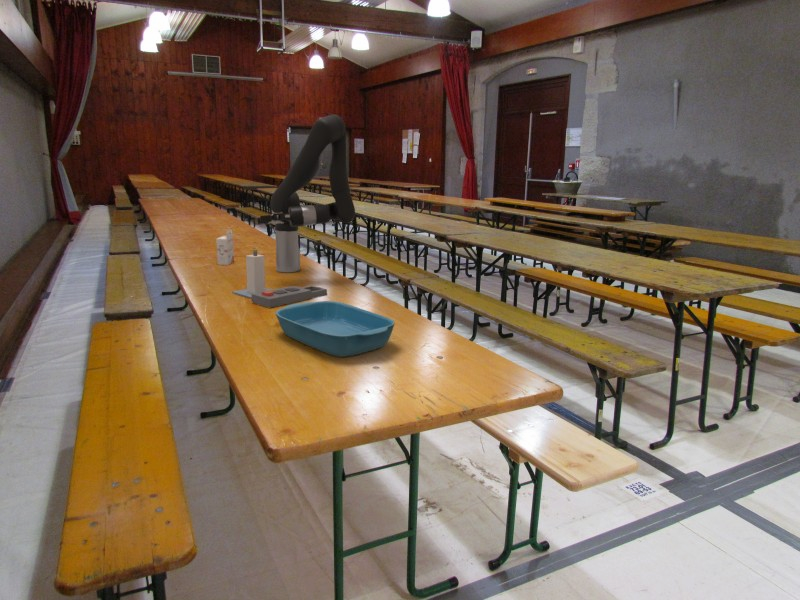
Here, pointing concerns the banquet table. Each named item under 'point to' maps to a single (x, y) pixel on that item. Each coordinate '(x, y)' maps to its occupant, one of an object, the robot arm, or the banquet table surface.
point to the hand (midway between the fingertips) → (258, 220)
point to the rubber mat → (245, 293)
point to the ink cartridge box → (225, 249)
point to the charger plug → (255, 273)
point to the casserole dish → (335, 327)
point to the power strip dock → (287, 295)
